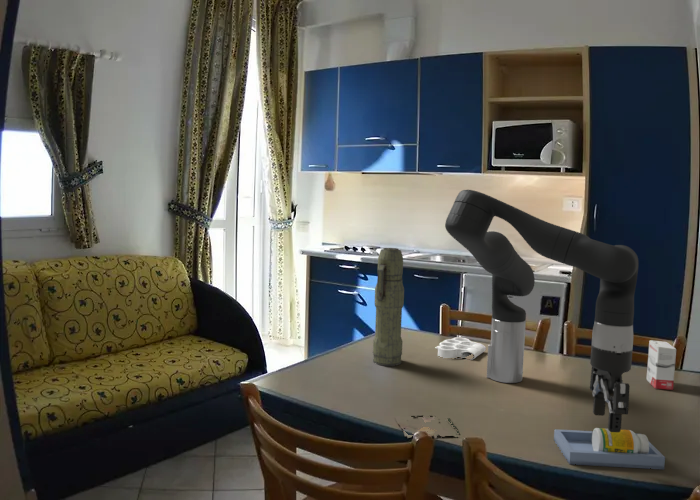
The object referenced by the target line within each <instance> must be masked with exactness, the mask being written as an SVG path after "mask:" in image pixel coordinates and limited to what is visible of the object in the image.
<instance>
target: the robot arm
mask: <svg viewBox="0 0 700 500" xmlns="http://www.w3.org/2000/svg"><path fill="white" fill-rule="evenodd" d="M494 217H497V218H499V219H501V220H503V221H505V222H507V223H508V224H510V225H511V227H513V228H514V229H515V230H516V231H517V232H518V234H519V235H520V236H521V238H522V239H523V240H524V242H525V243H526V244H528V246H529V247H530V248H531V249H532V250H533V251H534V252H535V253H537V254H538V255H541V256H542V257H544V258H546V259H549V260H552V261H555V262H557V263H560V264H563V265H566V266H570V267H574V268H577V269H579V270H581V271H582V272H585V273H587V274H589V275H591V276H594V277H596V278H598V279H599V280H600V281H599V293H598V295H597V298H596V301H595V310H594V311H595V313H594V324H593V327H592V335H591V336H592V338H591V347H590V349H591V351H590V362H589V363H590V365H591V371H590V382H589V390H590V391H592V393H591V394H592V397H593V408H592V413H593V414H594V415H595V416H598V417H599V416H605V414H606V403H607V406H608V411H609V412H608V419H607V420H608V423H607V429H608V430H609V431H610V432H620V431H621V430H622V418H623V415H628V414H629V409H630V408H629V404H630V403H629V402H630V383H627V382H625V383H624V381H623V374H624V373H628V372H630V371H631V370H632V369H631V368H632V362H633V361H632V360H633V347H634V346H633V345H634V316H635V292H636V286H637V280H638V274H639V273H638V272H639V263H640V262H639V258H638V257H639V256H638V255H637V253H636V252H635V251H634V249H632V248H631V247H629V246H627V245H624V244H615V245H612V244H609V243H605V242H602V241H599V240H595V239H592V238H591V237H589V236H588V235H586V234H585V233H584V234H583V233H582V232H579V231H575V230H572V229H569V228H567V227H562V226H560V225H556V224H554V223H552V222H551V223H550V222H548V221H545V220H543V219H540V218H539V217H536V216H534V215H532V214H530V213H529V212H526V211H524V210H522V209H520V208H517V207H515V206H513V205H511V204H508V203H506V202H504V201H502V200H500V199H497V198H495V197H492V196H490V195H488V194H486V193H483V192H480V191H476V190H473V189H463V190H461V191H459V193H458V194H457V195H456V197H455V200H454V202H453V205H452V206H451V209H450V211H449V213H448V215H447V217H446V220H445V226H444V227H445V231H447V233H448V235H450V236H451V237H452V238H453V239H454V240H455V241H456V242H458V243H459V244H460V245H461V246H462V247H463V248H465V249H466V250H467V251H468V252H469V254H470V255H472V256H473V258H474V260H476V262H477V263H478V264H479V265H480V266H481V268H482V269H484V270H485V271H486V272H487V273H489V274H491V275H492V276H491V279H492V280H491V313H492V315H491V328H490V329H491V331H490V332H491V333H490V343H489V344H488V345H487V361H486V378H488V379H491V380H492V381H495V382H500V383H506V384H515V383H520V382H522V381H523V374H524V358H525V357H524V356H525V341H526V340H525V339H526V322H527V313H526V312H527V311H526V310H525V309H524V308H523V307H521V306H519V305H517V304H515V303H513V301H512V300H510V299H509V297H508V296H513V297H526V296H528V295H530V294H531V293H532V291H533V289H534V286H535V283H536V281H535V280H536V279H535V274H534V271H533V268H532V267H531V265H530V264H529V263H528V262H526V260H524V259H523V258H522V257H521V256H520V255H519V254H518V253H519V252H518V251H516V249H515V247H514V246H513V245H512V244H513V243H512V242H511V241H510V239H509V238H507V237H506V236H505V235H504V234H502V233H501V232H499V231H495V230H493V231H492V230H491V231H488V230H489V228H490V226H491V223H492V222H493V219H494Z"/></svg>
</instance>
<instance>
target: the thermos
mask: <svg viewBox="0 0 700 500" xmlns="http://www.w3.org/2000/svg"><path fill="white" fill-rule="evenodd" d="M403 270H404V257H403V253H402V250H401V249H399V248H397V247H384V248H382V249H380V251H379V254H378V257H377V281H376V284H375V287H374V307H375V329H374V333H375V334H374V338H373V340H372V355H373V357H372V362H373V363H374V364H375V363H376V364H375V365H379V366H382V365H383V366H384V367H395V365H396V366H399V365H401V364H402V355H403V339H402V317H403V314H402V313H403V307H404V305H405V303H404V302H405V300H404V299H405V287H404V283H403V272H404V271H403Z"/></svg>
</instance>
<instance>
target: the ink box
mask: <svg viewBox="0 0 700 500" xmlns="http://www.w3.org/2000/svg"><path fill="white" fill-rule="evenodd" d="M648 342H649V343H648V355H647V356H648V357H647V367H646V368H647V371H646V381H647V382H648V383H649V384H650V385H651V386H652V387H653V388H654V389H655V390H656V389H657V390H670V391H673V390H674V383H675V382H674V381H675V371H676V370H675V368H676V360H677V359H676V357H677V349H676V347H674V346H673V345H671V344H670V343H669V342H667V341H661V340H654V339H651V340H649V341H648Z"/></svg>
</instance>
